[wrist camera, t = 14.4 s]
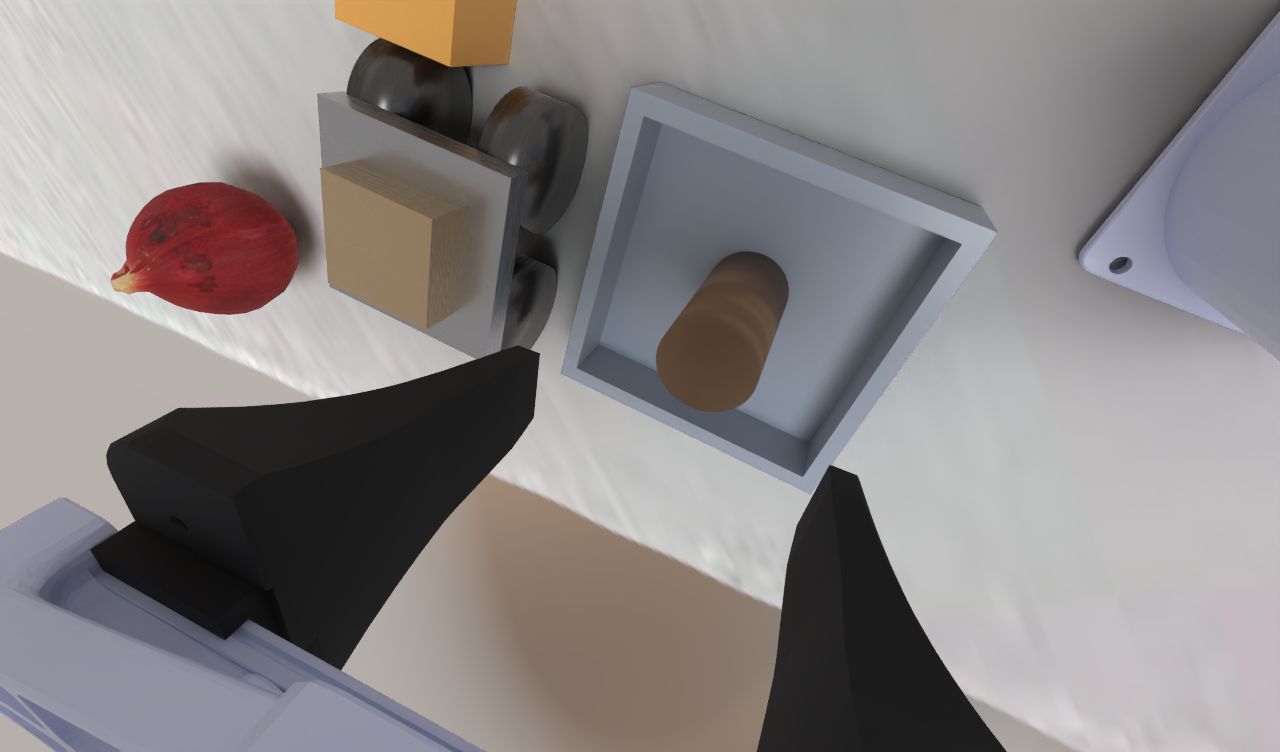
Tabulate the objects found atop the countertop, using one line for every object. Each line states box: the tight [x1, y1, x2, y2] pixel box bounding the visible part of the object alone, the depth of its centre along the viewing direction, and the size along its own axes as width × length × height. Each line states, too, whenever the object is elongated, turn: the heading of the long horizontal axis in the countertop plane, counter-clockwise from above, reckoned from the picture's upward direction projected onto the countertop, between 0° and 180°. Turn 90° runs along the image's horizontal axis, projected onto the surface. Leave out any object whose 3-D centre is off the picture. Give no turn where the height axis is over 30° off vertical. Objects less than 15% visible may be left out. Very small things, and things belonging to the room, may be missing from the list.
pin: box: [656, 251, 789, 412], centre depth 18 cm, size 3×3×6 cm
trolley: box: [317, 38, 587, 359], centre depth 20 cm, size 7×10×7 cm
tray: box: [561, 82, 998, 494], centre depth 20 cm, size 11×11×3 cm
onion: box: [111, 182, 299, 315], centre depth 25 cm, size 6×6×8 cm
